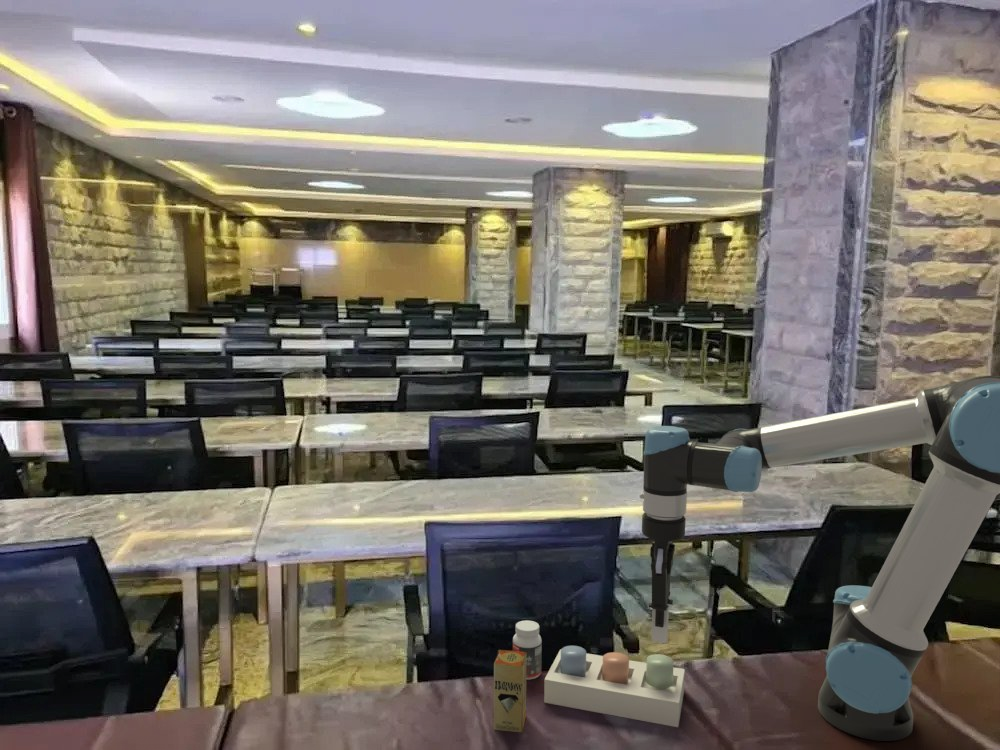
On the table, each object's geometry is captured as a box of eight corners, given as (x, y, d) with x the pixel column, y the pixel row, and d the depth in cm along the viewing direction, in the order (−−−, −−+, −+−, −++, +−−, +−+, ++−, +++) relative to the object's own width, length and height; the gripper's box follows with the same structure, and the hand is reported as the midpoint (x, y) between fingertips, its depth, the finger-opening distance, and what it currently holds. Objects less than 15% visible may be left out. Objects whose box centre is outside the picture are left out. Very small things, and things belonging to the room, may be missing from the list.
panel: (684, 691, 139) (684, 669, 138) (678, 727, 127) (678, 702, 127) (560, 670, 146) (560, 649, 146) (544, 702, 135) (544, 679, 134)
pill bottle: (507, 676, 144) (507, 628, 143) (520, 663, 149) (520, 616, 148) (533, 683, 141) (534, 634, 140) (546, 670, 146) (546, 622, 145)
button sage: (674, 677, 135) (674, 656, 135) (671, 690, 131) (672, 669, 130) (647, 672, 137) (648, 652, 136) (644, 685, 132) (644, 664, 132)
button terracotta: (630, 674, 138) (630, 654, 137) (626, 687, 133) (626, 667, 133) (604, 670, 139) (605, 650, 139) (600, 683, 135) (600, 662, 134)
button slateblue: (588, 667, 140) (588, 647, 140) (583, 680, 136) (583, 659, 135) (563, 663, 142) (564, 644, 141) (557, 676, 137) (557, 655, 137)
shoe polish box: (498, 713, 131) (498, 649, 130) (526, 716, 131) (526, 651, 129) (493, 729, 127) (493, 663, 125) (522, 732, 126) (522, 666, 124)
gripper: (647, 501, 137) (643, 622, 140) (637, 522, 125) (633, 654, 128) (688, 505, 135) (683, 628, 138) (682, 527, 123) (677, 661, 125)
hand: (659, 640), depth 133 cm, fingers closed
